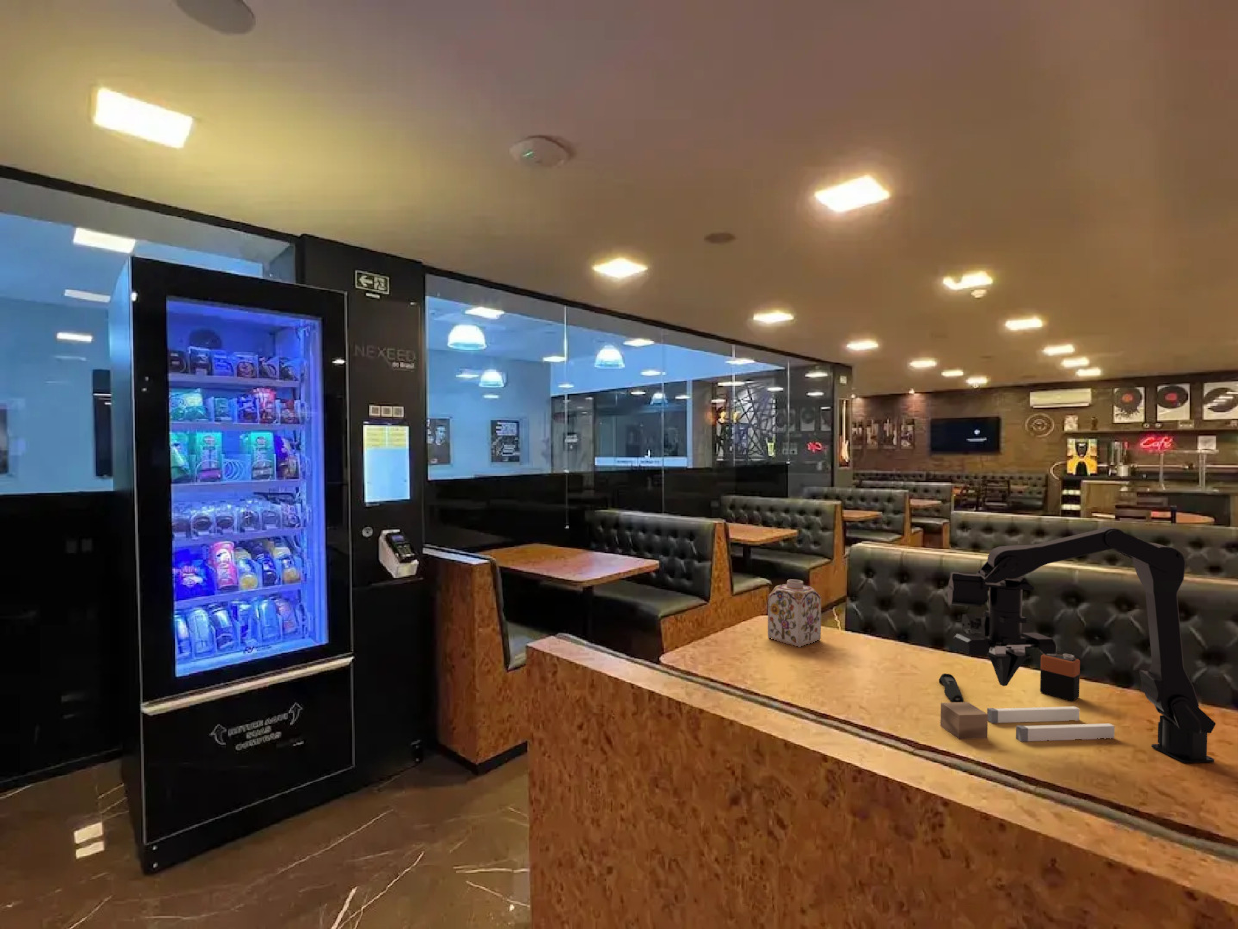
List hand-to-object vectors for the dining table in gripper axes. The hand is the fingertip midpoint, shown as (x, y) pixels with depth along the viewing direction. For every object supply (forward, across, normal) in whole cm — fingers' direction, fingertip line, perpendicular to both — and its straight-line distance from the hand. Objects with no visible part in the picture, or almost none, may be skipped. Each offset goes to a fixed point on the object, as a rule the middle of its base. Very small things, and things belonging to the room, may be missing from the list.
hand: (1003, 685), depth 126 cm
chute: (+9, -10, 0) cm, 14 cm away
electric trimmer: (+10, -2, -20) cm, 22 cm away
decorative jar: (+10, +20, -63) cm, 67 cm away
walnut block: (+10, +8, 0) cm, 13 cm away
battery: (+10, -27, -17) cm, 33 cm away
